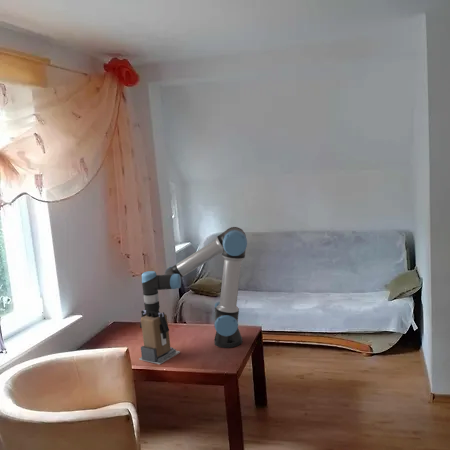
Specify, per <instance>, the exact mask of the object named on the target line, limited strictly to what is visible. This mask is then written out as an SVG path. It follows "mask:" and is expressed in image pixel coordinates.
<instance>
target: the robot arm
mask: <svg viewBox="0 0 450 450" xmlns="http://www.w3.org/2000/svg"><path fill="white" fill-rule="evenodd" d="M247 248H248V240H247V235H246V233H245V232H244V230H243V229H242V228H240V227H238V226H231V227H229V228H227V229H225V231H223V232H221V233H220V234H218V235H217V236H216V239H214V240H213V241H211V242H210V243H208V244H207V245H204V247H201V248H200V249H198V250H196V252H194V253H192V254H191V255H189V256H187V257H185V258H184V259H182V260H180V261H178V263H176V264H175V265H172V266H169V267H168V268H167V269H166V270H165V272H164V274H157V273H156V271H154V270H149V271H148V270H147V271H144V272H143V273H142V274H141V286H142V287H141V288H142V292H143V293H142V295H143V301H144V304H143V305H144V309H142V310H141V311H140V312H141V313H140V314H141V317H144V316H146V315H147V316H148V317H149V316H151V317H154V318H155V317H158V316H159V317H160V320H161V323H162V324H160V330H161V332H162V333H161V342H162V345H165V344H166V338H167V336H166V332H168V331H169V332H170V328H169V324H168V325H167V322H168V321H167V322H166V319H165V312H160V301H159V291H163V290H164V291H165V290H176V289H180V288H181V286H182V278H184V277H185V276H186V275H188V274H190V273H191V272H193V271H195V270H196V269H199V267H201V266H202V265H204V264H205V263H208V262H209V261H211V260H212V259H215V257H217V256H219V255H220V254H221V256H222V258H223V260H224V261H223V269H222V276H221V277H222V279H221V290H220V296H219V297H220V300H219V301H217V302H215V303H214V313H215V315H214V323H213V324H214V325H213V326H214V329H215V335H214V340H213V341H214V345H215V346H216V347H219V348H224V349H229V348H230V349H231V348H235V347H238V346H240V345H241V344H242V343H243V336H242V335H241V331H240V330H239V322H238V321H239V313H240V308H239V307H238V306H237V304H238V296H239V295H238V294H239V285H240V279H241V277H240V276H241V268H242V267H241V265H242V261H243V260H244V259H246V250H247ZM139 327H140V329H142V325H141V322H140V325H139Z"/></svg>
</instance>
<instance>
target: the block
mask: <svg viewBox="0 0 450 450" xmlns="http://www.w3.org/2000/svg"><path fill="white" fill-rule="evenodd" d="M164 314H165V313H164ZM165 319H166V322H167V325H168V326H169V322H168V315H167V314H165ZM140 323H141V325H142V328H141V332H142V339H143V346H146V347H151V348H155V349H156V354H157V357H159V356H160V355H162V354H164V353H166V352H168V351H170V347H171V342H170V333H169V332H170V330H169V331H168V332H166V336H167V338H166V344H165V345H162V342H161V333H162V332H161V330H160V324H162V323H161V320H160V317H159V316H158V317H155V318H154V317H151V316H149V317H148V316H147V315H146V316H144V317H141V318H140Z"/></svg>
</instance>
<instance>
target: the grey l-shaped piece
mask: <svg viewBox="0 0 450 450" xmlns="http://www.w3.org/2000/svg"><path fill="white" fill-rule="evenodd" d="M180 353H181V351H179V350H176V348H174V347H172V346H170V351H168V352H166V353H164V354H162V355H160V356H159V357H157V354H156V349H155V348H151V347H146V346H144V345H141V346H140V354H141V357H139V358H138V359H139V361H143V362H148V363H151V364H156V365H161V364H163V363H165V362H166V361H168V360H170V359H173V358H174V357H175V356H177V355H178V354H180Z"/></svg>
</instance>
